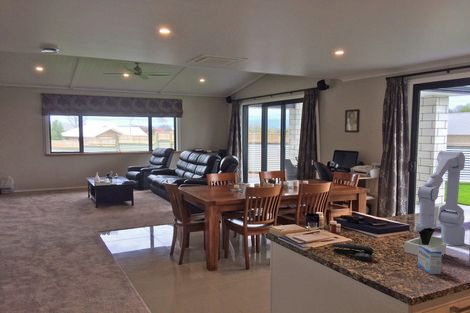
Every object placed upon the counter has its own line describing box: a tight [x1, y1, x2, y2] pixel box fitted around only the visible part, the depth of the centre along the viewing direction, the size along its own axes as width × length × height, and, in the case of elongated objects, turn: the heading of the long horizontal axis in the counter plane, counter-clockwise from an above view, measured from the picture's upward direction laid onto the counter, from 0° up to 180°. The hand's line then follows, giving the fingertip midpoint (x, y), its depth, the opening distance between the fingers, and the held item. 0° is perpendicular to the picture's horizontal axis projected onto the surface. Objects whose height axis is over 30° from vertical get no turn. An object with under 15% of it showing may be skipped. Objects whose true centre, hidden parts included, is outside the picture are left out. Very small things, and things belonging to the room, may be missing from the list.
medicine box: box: [417, 245, 443, 275], centre depth 138 cm, size 8×4×9 cm, turn 5°
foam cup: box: [418, 203, 440, 230], centre depth 200 cm, size 10×9×13 cm
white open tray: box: [404, 236, 447, 257], centre depth 158 cm, size 12×12×4 cm
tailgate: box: [419, 235, 443, 247], centre depth 161 cm, size 2×9×5 cm, turn 37°
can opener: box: [331, 243, 374, 262], centre depth 153 cm, size 18×7×6 cm, turn 48°
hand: (425, 244), depth 158 cm, fingers closed
